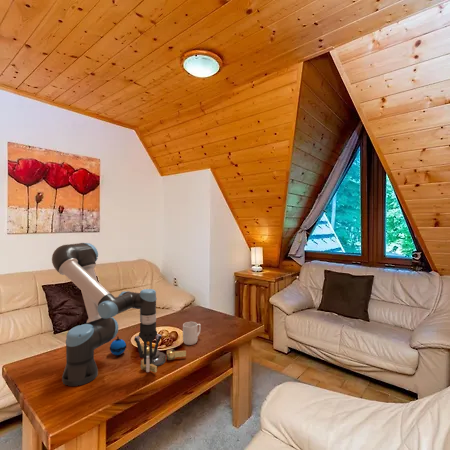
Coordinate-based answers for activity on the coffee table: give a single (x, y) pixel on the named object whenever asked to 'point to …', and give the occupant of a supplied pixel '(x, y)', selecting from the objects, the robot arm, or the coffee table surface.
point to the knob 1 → (143, 348)
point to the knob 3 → (175, 354)
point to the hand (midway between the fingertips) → (148, 370)
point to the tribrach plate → (158, 358)
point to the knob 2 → (152, 367)
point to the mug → (190, 332)
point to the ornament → (117, 346)
